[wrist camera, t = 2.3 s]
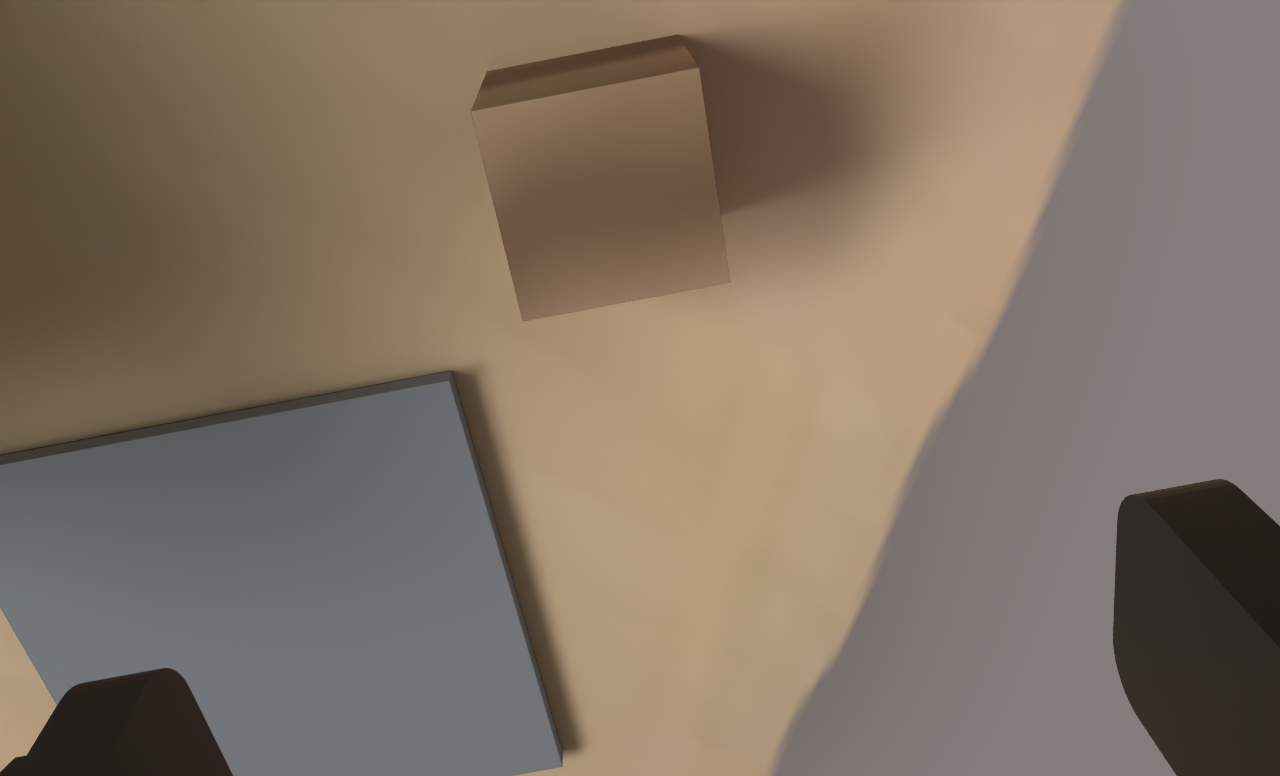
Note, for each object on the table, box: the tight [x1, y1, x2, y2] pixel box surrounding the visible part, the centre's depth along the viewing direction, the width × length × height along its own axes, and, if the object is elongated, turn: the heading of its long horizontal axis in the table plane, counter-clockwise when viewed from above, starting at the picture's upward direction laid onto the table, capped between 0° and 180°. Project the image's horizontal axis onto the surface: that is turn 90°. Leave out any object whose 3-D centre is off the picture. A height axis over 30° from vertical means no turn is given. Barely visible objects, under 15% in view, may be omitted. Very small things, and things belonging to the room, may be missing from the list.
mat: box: [0, 371, 563, 776], centre depth 31 cm, size 14×14×1 cm
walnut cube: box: [471, 35, 731, 321], centre depth 23 cm, size 4×4×4 cm
